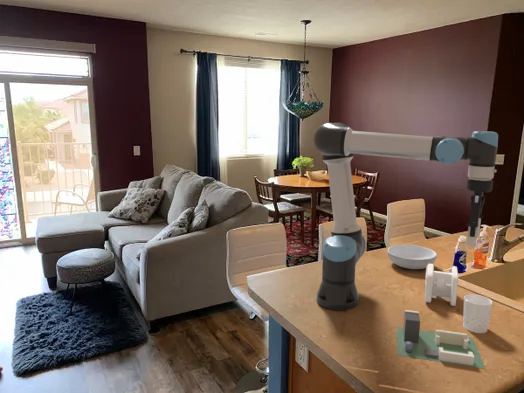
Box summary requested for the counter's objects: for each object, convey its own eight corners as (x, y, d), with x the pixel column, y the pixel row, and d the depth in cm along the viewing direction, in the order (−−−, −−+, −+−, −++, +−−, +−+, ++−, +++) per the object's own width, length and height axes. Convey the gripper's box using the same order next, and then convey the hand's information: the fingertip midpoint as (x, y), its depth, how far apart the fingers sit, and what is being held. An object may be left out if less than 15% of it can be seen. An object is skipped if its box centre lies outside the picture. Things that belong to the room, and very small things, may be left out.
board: (397, 356, 111) (398, 347, 110) (396, 328, 126) (396, 320, 125) (485, 370, 104) (486, 360, 104) (472, 339, 119) (473, 330, 119)
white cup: (464, 320, 131) (467, 291, 129) (491, 327, 126) (494, 298, 124) (458, 329, 125) (461, 300, 123) (486, 338, 120) (490, 307, 118)
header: (439, 360, 108) (440, 348, 108) (434, 340, 118) (435, 329, 118) (473, 365, 106) (474, 353, 105) (465, 344, 116) (466, 333, 115)
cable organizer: (455, 310, 138) (458, 279, 136) (423, 305, 142) (425, 274, 140) (454, 293, 151) (457, 265, 149) (424, 289, 155) (427, 261, 153)
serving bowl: (387, 256, 194) (387, 242, 193) (433, 260, 187) (434, 246, 186) (386, 271, 174) (387, 256, 173) (437, 276, 168) (439, 261, 167)
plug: (404, 341, 118) (405, 318, 116) (403, 331, 123) (404, 309, 122) (418, 343, 116) (420, 320, 115) (416, 333, 122) (418, 311, 121)
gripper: (491, 184, 118) (483, 252, 122) (494, 175, 138) (487, 233, 143) (463, 182, 122) (456, 248, 126) (470, 173, 142) (464, 230, 146)
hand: (472, 240), depth 134 cm, fingers open, 13 cm apart
